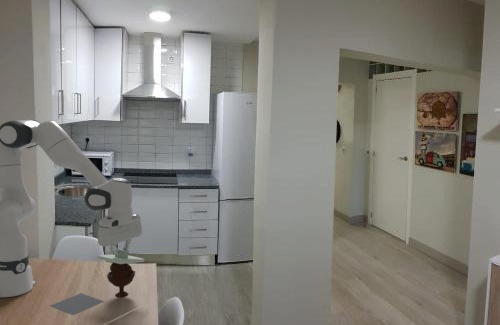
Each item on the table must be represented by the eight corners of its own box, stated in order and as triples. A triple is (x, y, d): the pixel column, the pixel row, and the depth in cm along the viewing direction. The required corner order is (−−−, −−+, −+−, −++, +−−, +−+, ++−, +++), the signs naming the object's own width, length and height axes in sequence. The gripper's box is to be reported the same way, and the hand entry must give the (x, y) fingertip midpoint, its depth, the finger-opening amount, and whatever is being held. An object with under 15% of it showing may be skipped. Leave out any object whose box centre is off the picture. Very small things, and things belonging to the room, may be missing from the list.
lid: (97, 258, 167) (98, 247, 167) (121, 256, 178) (123, 246, 178) (120, 264, 160) (121, 253, 161) (144, 261, 171) (145, 251, 172)
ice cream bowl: (127, 302, 165) (127, 266, 163) (102, 299, 167) (101, 263, 165) (140, 291, 175) (139, 257, 173) (115, 289, 177) (115, 255, 175)
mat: (49, 306, 160) (49, 305, 160) (81, 294, 172) (81, 293, 172) (73, 316, 153) (73, 315, 152) (104, 302, 165) (104, 301, 164)
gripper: (134, 212, 178) (134, 244, 179) (94, 222, 161) (95, 256, 162) (145, 214, 175) (145, 246, 176) (106, 224, 157) (106, 260, 159)
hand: (121, 251), depth 169 cm, fingers open, 4 cm apart
